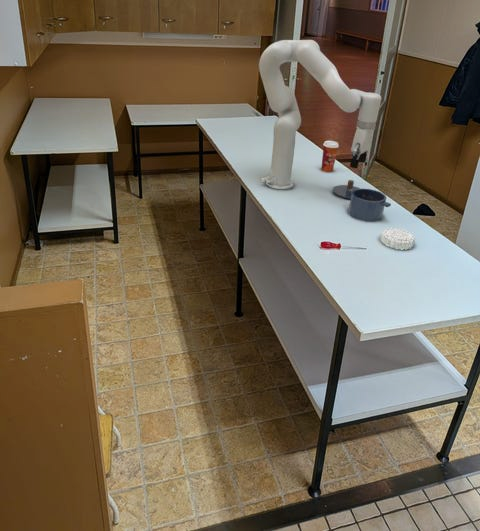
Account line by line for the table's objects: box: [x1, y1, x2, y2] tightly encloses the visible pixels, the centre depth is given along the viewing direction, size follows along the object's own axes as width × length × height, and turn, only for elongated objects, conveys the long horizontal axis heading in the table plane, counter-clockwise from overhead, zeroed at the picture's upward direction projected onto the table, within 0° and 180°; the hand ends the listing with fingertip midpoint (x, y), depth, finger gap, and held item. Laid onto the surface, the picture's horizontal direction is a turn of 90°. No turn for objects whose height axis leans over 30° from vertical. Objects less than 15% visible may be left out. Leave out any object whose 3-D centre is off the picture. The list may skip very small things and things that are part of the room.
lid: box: [332, 179, 362, 200], centre depth 222 cm, size 15×15×6 cm
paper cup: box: [321, 140, 340, 173], centre depth 245 cm, size 8×8×14 cm
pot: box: [347, 188, 392, 222], centre depth 203 cm, size 14×19×8 cm
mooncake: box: [379, 227, 416, 251], centre depth 184 cm, size 12×12×4 cm
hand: (357, 164), depth 212 cm, fingers open, 9 cm apart
